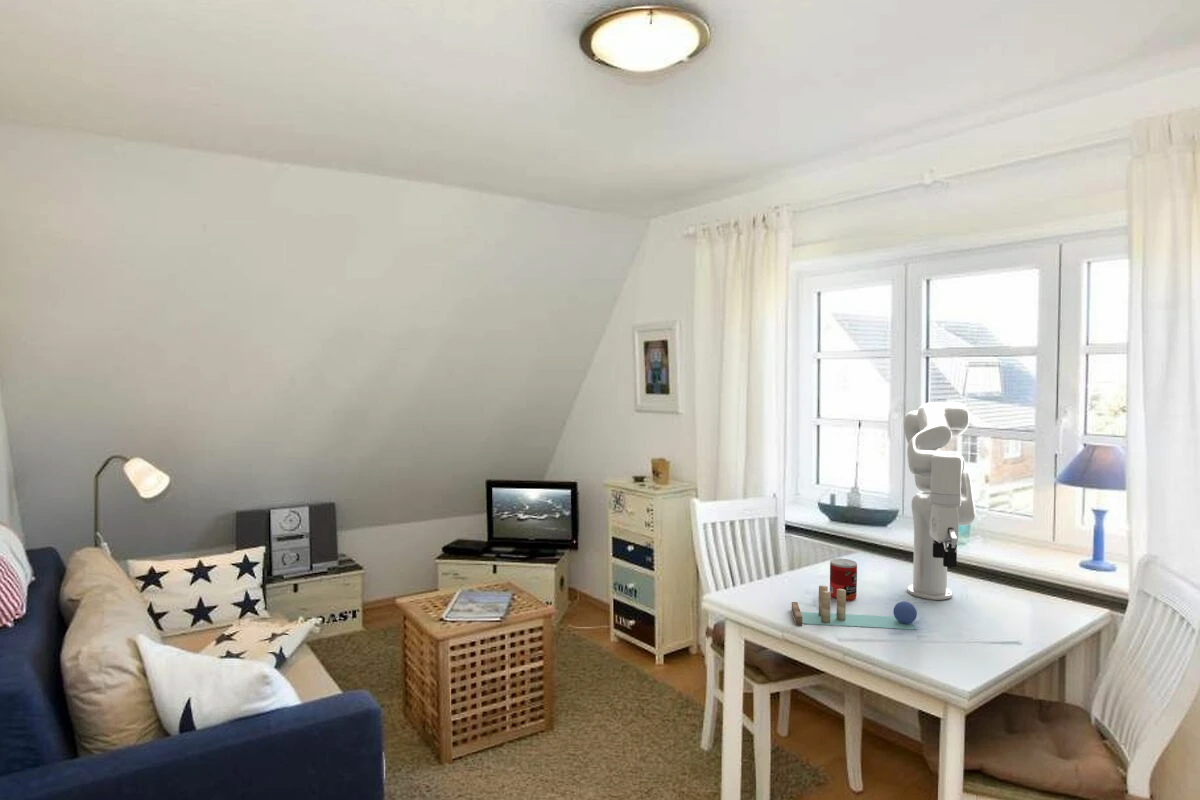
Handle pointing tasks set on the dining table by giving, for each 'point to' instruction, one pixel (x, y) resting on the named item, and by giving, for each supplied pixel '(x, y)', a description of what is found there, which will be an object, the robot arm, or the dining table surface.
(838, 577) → the canned food
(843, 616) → the pin front
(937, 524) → the robot arm
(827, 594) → the pin
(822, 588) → the pin
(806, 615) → the panel
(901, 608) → the ball
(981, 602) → the dining table surface
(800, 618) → the block
